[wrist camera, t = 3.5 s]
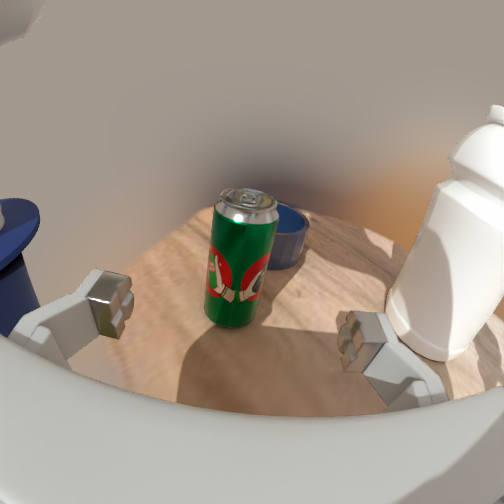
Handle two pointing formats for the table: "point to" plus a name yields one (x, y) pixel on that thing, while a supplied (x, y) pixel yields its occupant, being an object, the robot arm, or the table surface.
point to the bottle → (456, 251)
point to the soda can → (239, 255)
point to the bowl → (288, 238)
